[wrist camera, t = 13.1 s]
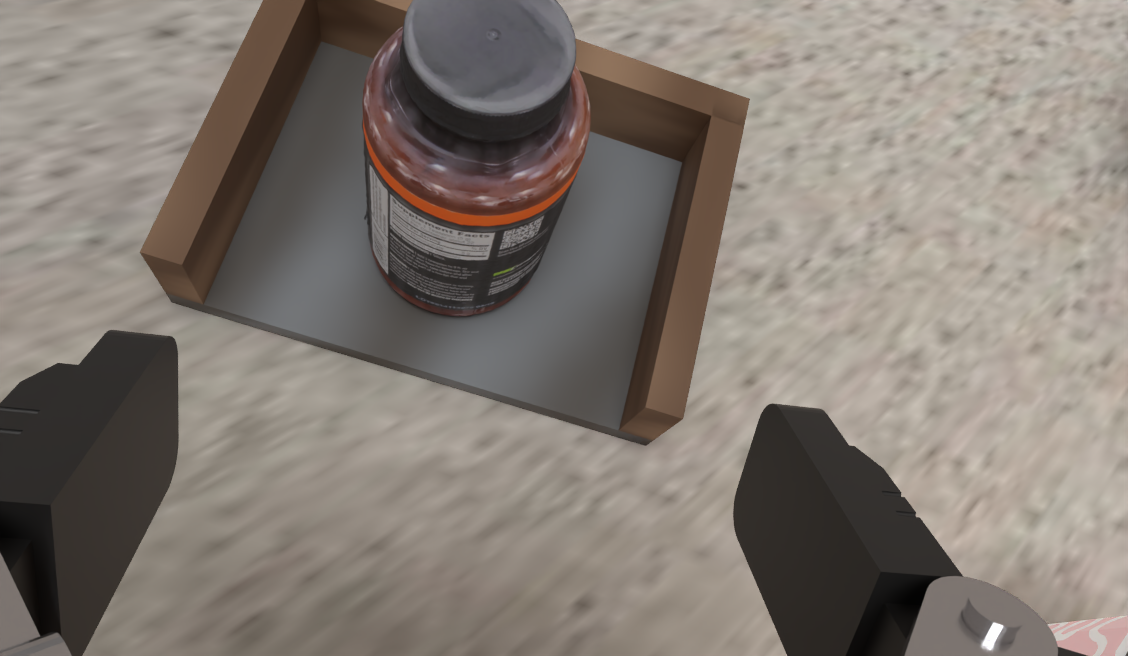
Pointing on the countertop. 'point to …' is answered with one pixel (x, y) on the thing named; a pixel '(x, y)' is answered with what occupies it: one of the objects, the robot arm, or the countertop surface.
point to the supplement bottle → (471, 148)
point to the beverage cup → (1093, 636)
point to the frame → (410, 333)
